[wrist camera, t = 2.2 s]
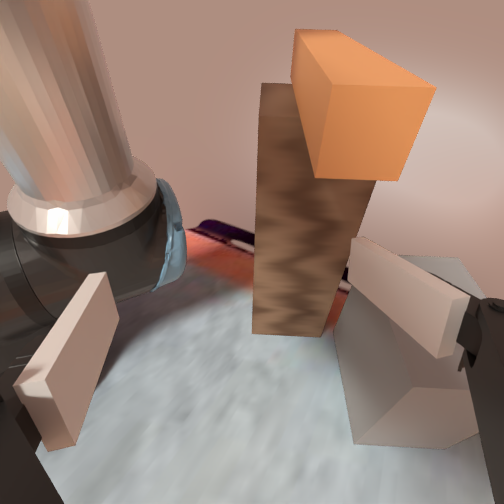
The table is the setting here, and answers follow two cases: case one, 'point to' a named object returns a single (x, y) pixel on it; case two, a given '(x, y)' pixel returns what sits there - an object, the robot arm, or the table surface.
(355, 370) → the grey upright cuboid
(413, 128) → the orange rectangular bar
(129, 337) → the table surface
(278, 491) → the table surface
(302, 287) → the post
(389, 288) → the robot arm
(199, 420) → the table surface
